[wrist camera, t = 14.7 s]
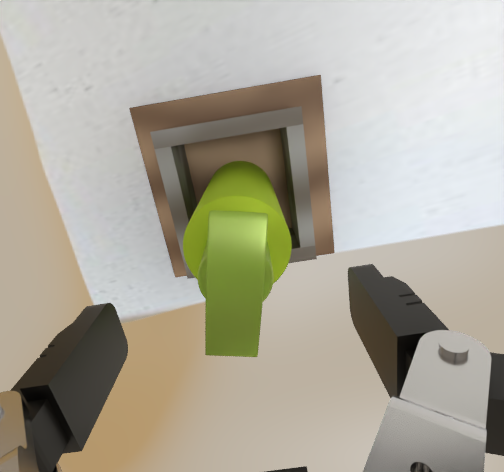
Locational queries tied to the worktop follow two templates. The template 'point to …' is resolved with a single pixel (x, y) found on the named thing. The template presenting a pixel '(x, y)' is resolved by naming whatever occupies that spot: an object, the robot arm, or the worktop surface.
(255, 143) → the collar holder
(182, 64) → the worktop surface
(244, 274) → the soap dispenser
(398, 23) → the worktop surface
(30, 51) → the worktop surface
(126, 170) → the worktop surface
